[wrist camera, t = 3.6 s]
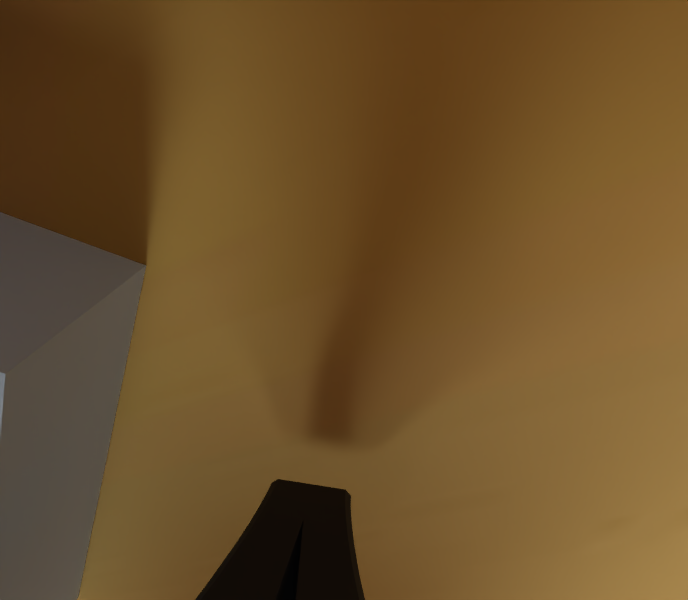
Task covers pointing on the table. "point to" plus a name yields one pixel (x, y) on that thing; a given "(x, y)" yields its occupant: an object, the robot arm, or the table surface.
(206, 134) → the table surface
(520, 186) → the table surface
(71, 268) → the slate block
